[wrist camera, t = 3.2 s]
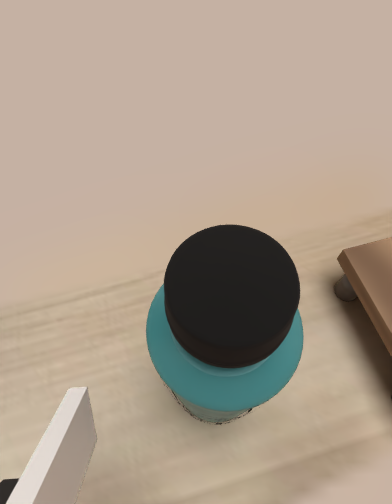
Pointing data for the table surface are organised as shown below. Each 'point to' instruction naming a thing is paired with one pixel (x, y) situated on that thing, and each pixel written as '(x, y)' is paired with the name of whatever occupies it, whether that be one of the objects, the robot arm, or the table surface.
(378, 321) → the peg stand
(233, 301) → the beverage bottle
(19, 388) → the table surface
